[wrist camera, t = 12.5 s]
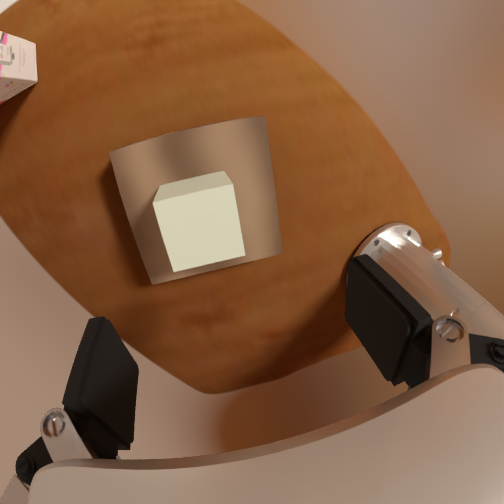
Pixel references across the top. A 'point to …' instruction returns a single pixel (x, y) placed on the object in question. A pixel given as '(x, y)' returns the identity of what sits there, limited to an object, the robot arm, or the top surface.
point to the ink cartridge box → (16, 65)
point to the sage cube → (199, 220)
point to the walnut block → (192, 165)
